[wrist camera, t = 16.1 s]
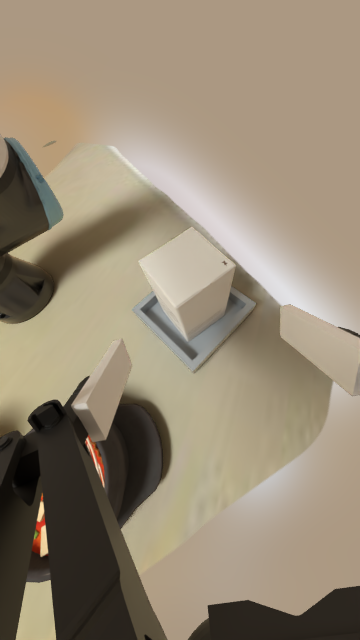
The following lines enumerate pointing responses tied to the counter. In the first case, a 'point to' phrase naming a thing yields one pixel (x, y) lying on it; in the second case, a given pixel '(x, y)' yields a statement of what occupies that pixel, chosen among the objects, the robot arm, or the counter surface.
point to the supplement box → (190, 281)
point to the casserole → (114, 474)
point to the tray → (203, 343)
